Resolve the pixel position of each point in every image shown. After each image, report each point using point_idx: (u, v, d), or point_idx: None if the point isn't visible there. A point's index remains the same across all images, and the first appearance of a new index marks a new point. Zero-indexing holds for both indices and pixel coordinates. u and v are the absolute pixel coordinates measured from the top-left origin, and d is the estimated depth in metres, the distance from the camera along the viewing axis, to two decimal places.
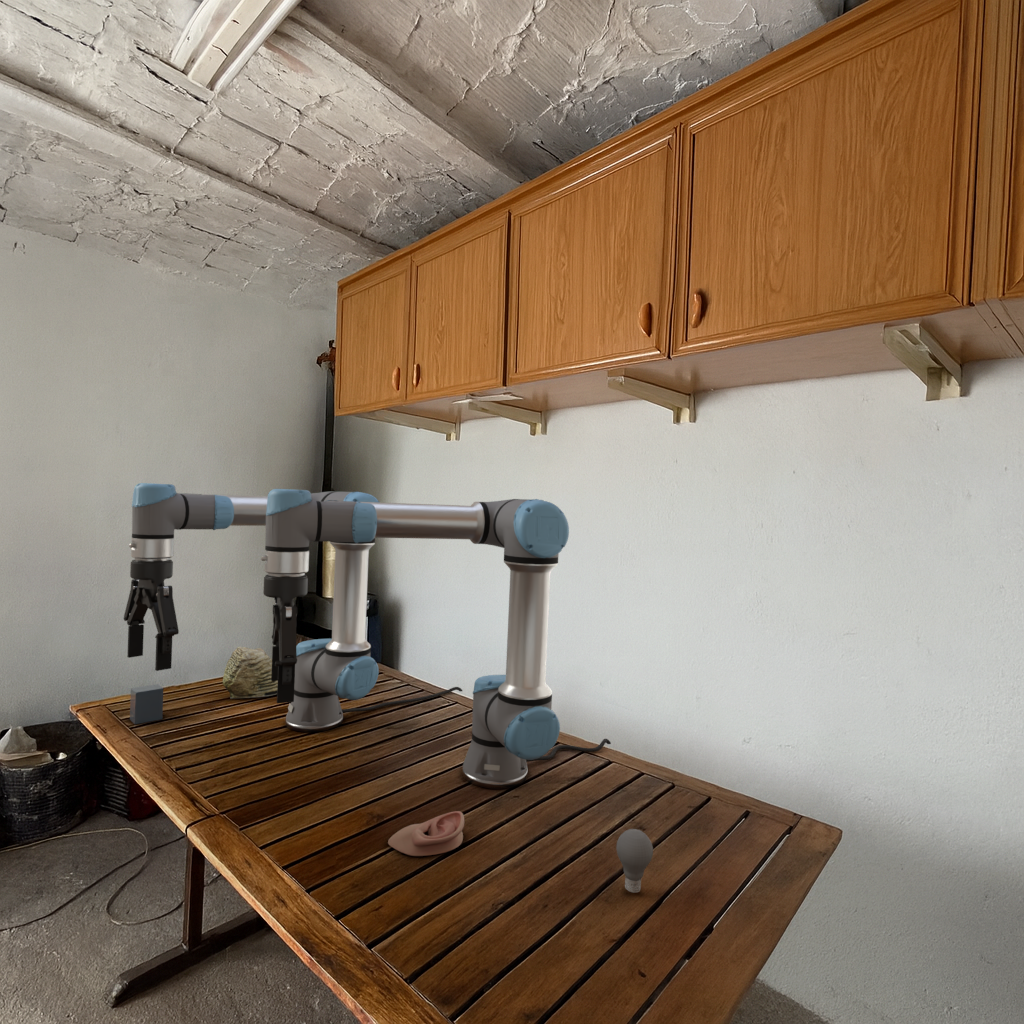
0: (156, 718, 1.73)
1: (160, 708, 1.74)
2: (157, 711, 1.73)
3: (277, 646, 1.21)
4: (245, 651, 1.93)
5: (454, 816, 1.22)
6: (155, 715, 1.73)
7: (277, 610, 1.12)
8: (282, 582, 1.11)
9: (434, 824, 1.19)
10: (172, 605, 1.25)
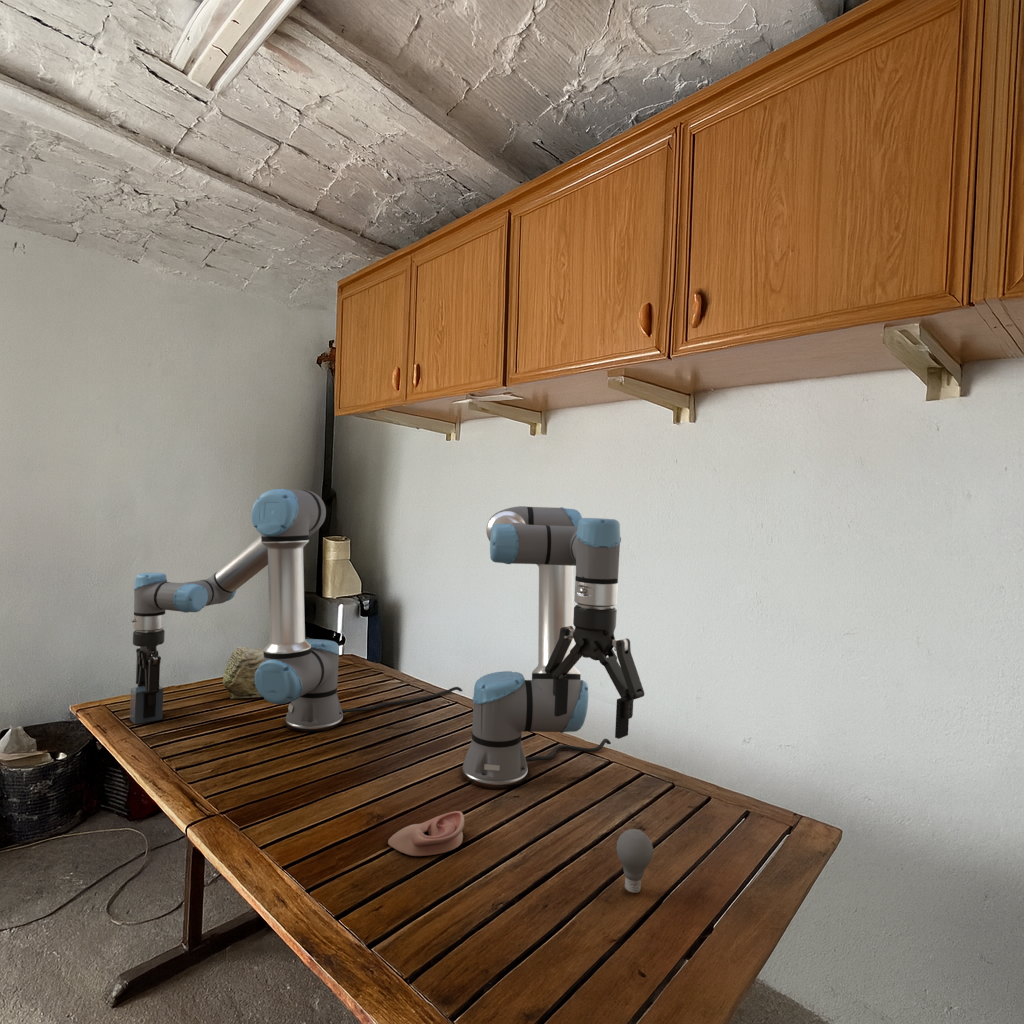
0: (156, 718, 1.73)
1: (160, 708, 1.74)
2: (157, 711, 1.73)
3: (560, 680, 1.16)
4: (245, 651, 1.93)
5: (454, 816, 1.22)
6: (155, 715, 1.73)
7: (597, 644, 1.09)
8: (608, 614, 1.08)
9: (434, 824, 1.19)
10: (158, 671, 1.70)
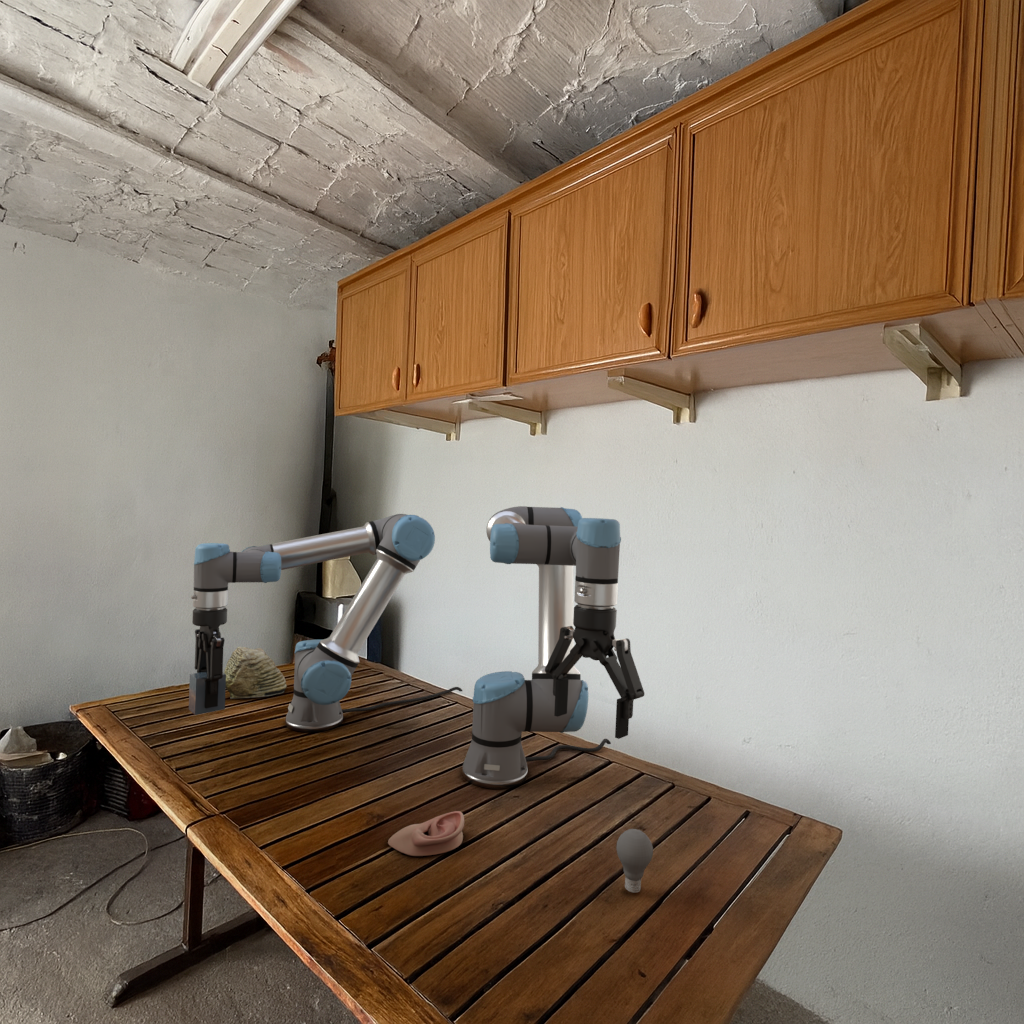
0: (218, 708, 1.52)
1: (222, 697, 1.53)
2: (219, 700, 1.52)
3: (560, 680, 1.16)
4: (245, 651, 1.93)
5: (454, 816, 1.22)
6: None
7: (597, 644, 1.09)
8: (608, 614, 1.08)
9: (434, 824, 1.19)
10: (221, 655, 1.49)
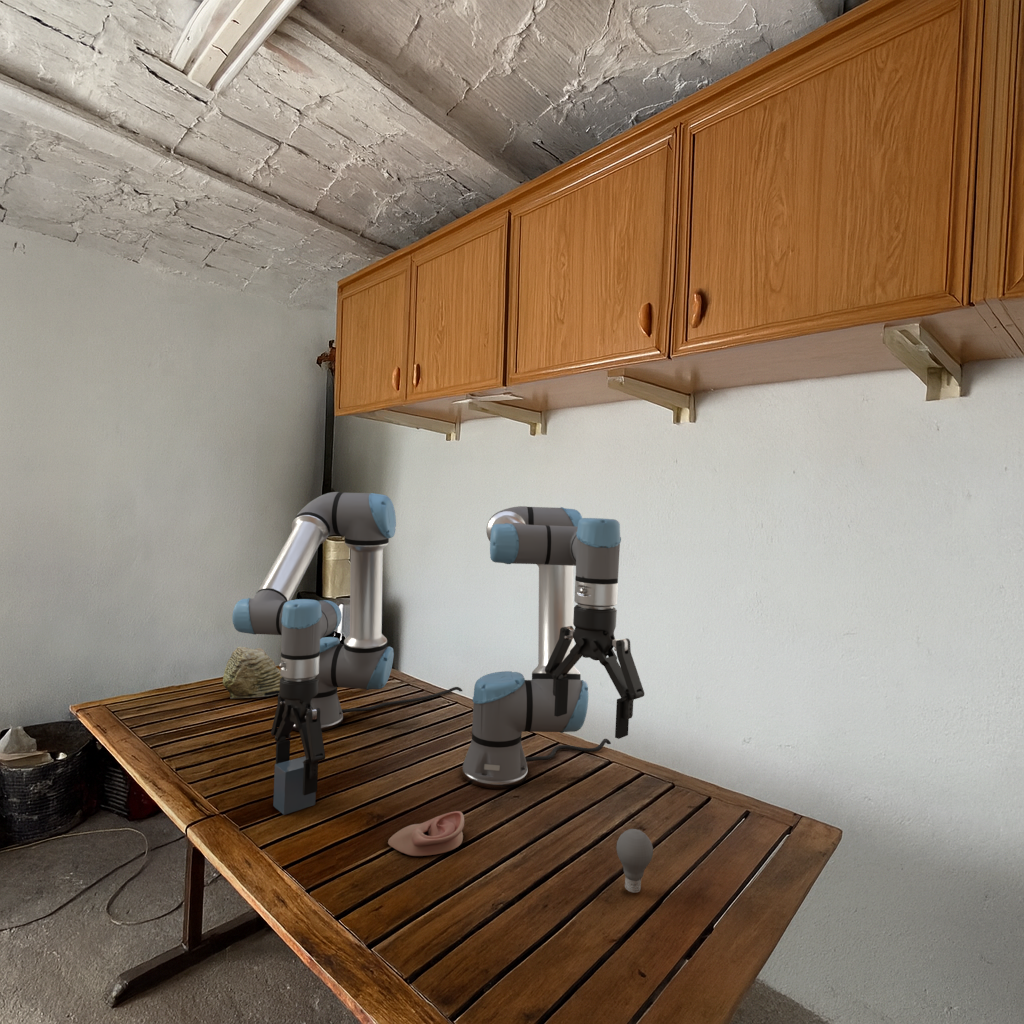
0: (308, 804, 1.29)
1: None
2: (310, 795, 1.29)
3: (560, 680, 1.16)
4: (245, 651, 1.93)
5: (454, 816, 1.22)
6: (307, 800, 1.29)
7: (597, 644, 1.09)
8: (608, 614, 1.08)
9: (434, 824, 1.19)
10: (320, 729, 1.25)
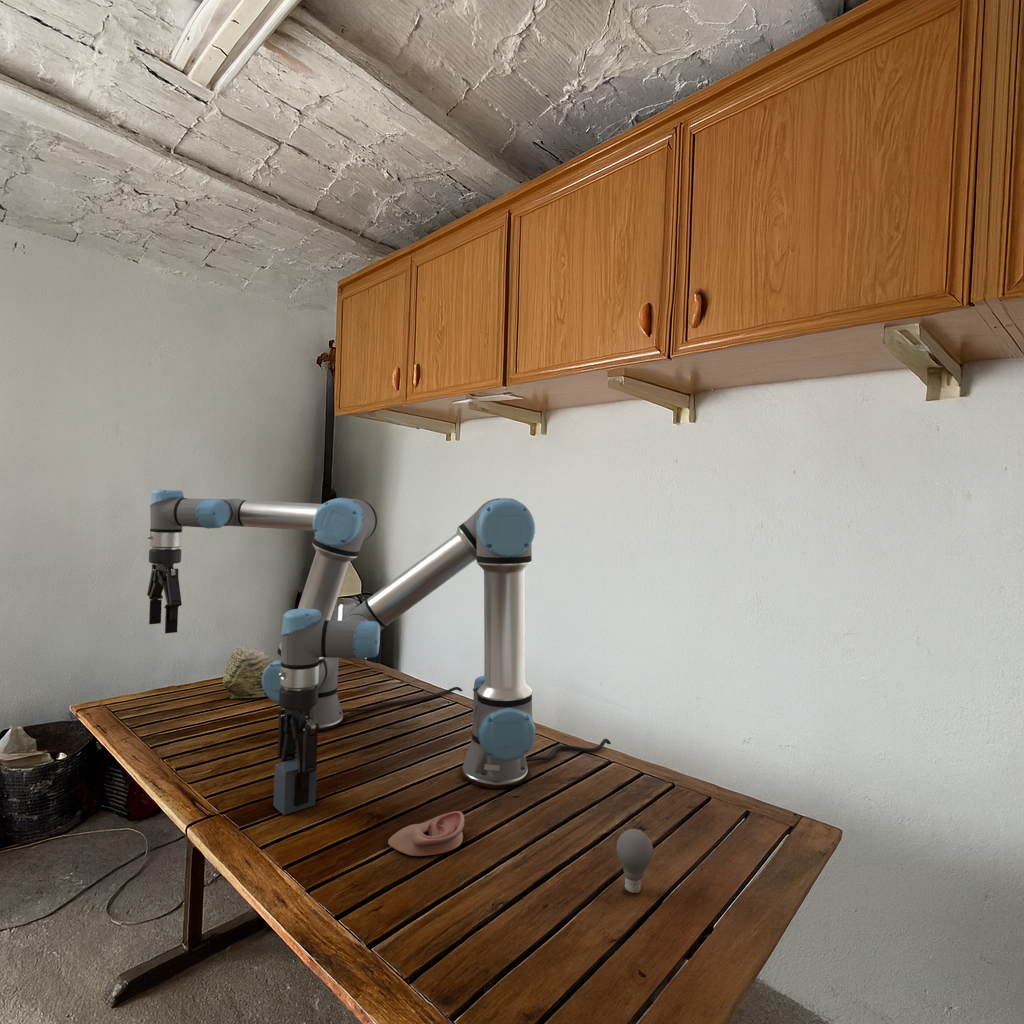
0: (308, 804, 1.29)
1: (313, 790, 1.30)
2: (310, 795, 1.29)
3: None
4: (245, 651, 1.93)
5: (454, 816, 1.22)
6: None
7: (296, 721, 1.27)
8: (302, 695, 1.26)
9: (434, 824, 1.19)
10: (177, 583, 1.62)
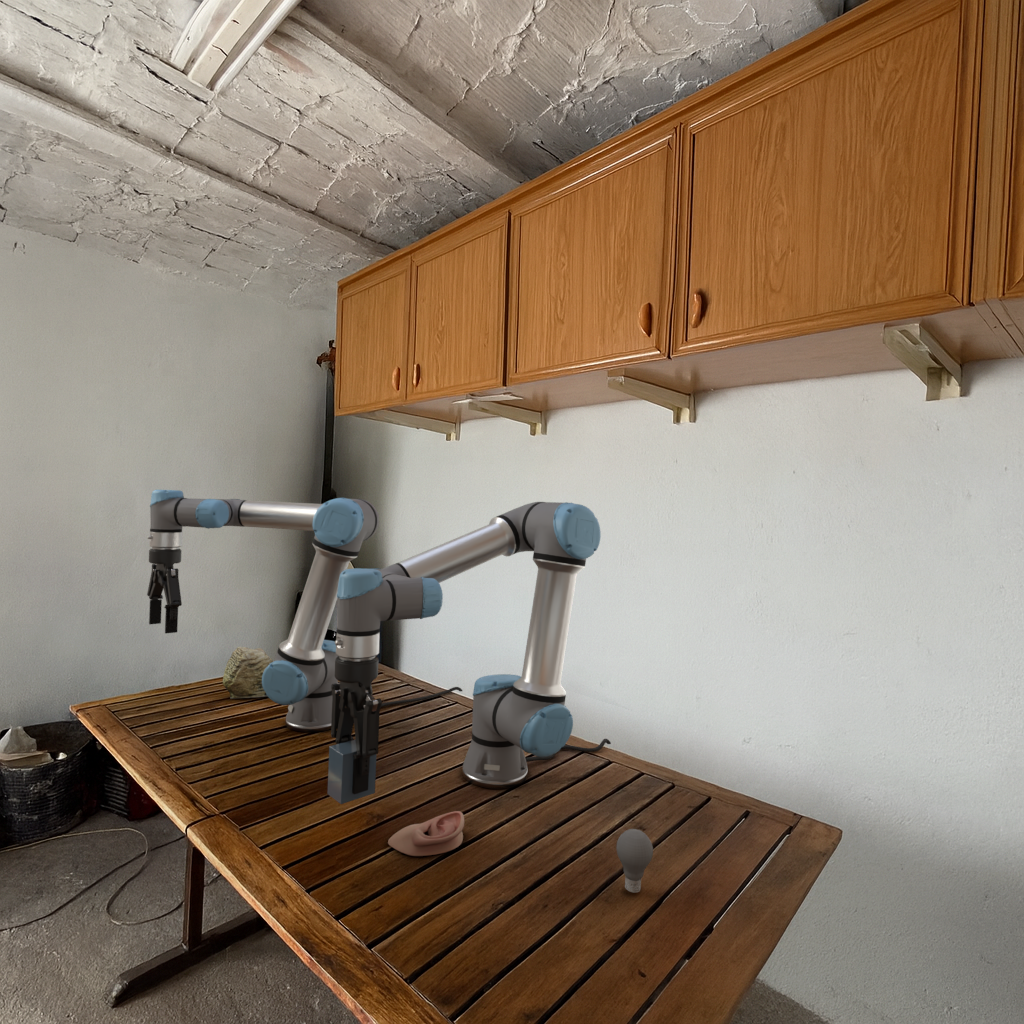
0: (367, 792, 1.13)
1: (372, 777, 1.13)
2: (369, 782, 1.13)
3: None
4: (245, 651, 1.93)
5: (454, 816, 1.22)
6: None
7: (354, 697, 1.10)
8: (362, 666, 1.09)
9: (434, 824, 1.19)
10: (177, 583, 1.62)
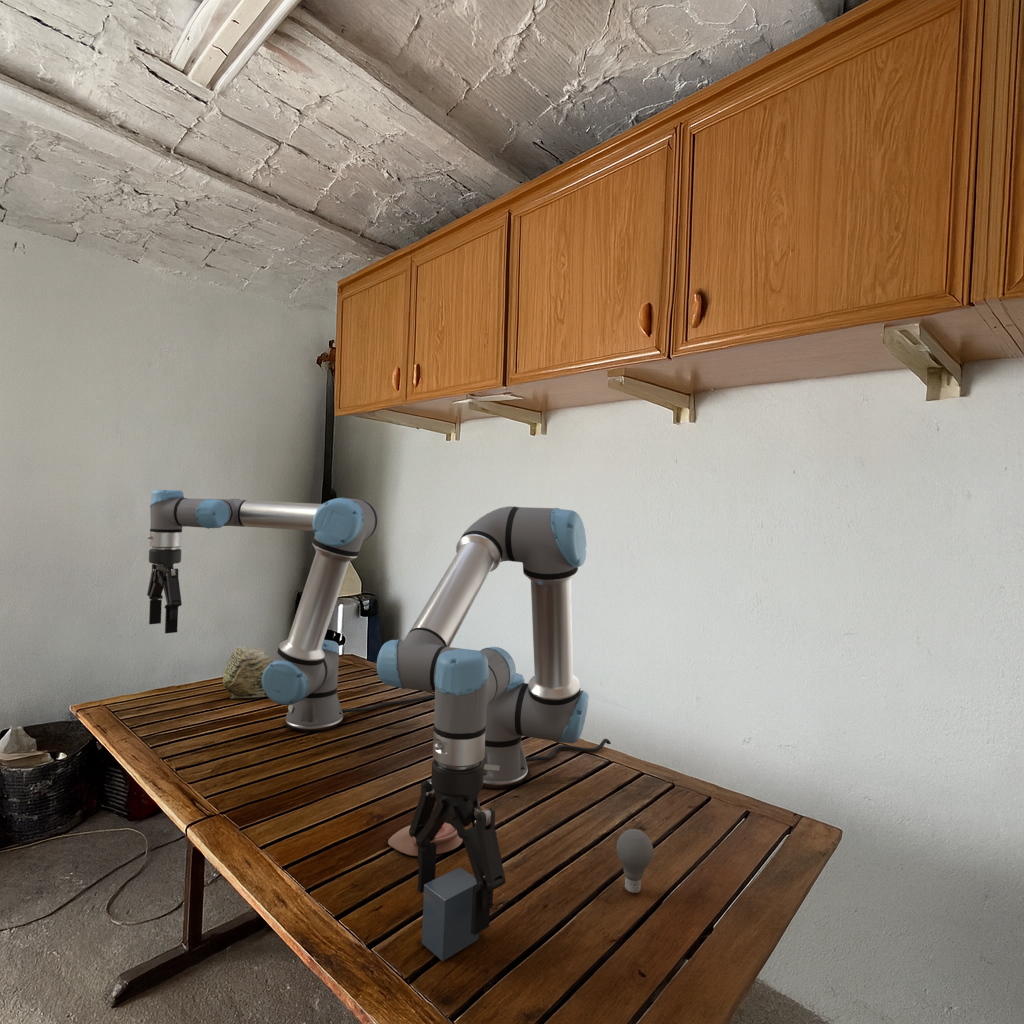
0: (471, 940, 0.92)
1: None
2: None
3: (425, 847, 0.96)
4: (245, 651, 1.93)
5: None
6: (470, 935, 0.91)
7: (457, 811, 0.89)
8: (469, 776, 0.88)
9: None
10: (177, 583, 1.62)
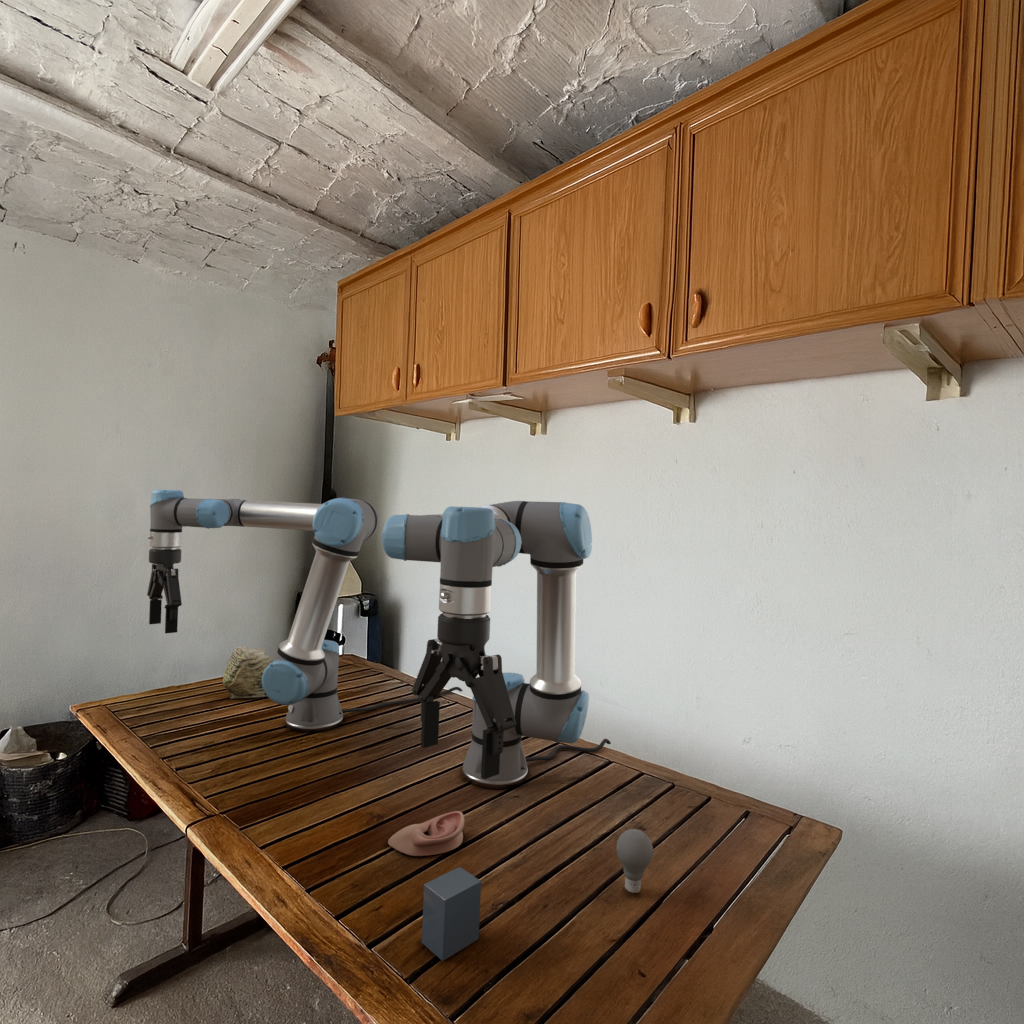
0: (471, 940, 0.92)
1: (476, 920, 0.92)
2: (473, 927, 0.92)
3: (428, 703, 0.96)
4: (245, 651, 1.93)
5: (454, 816, 1.22)
6: (470, 935, 0.91)
7: (464, 661, 0.89)
8: (475, 625, 0.88)
9: (434, 824, 1.19)
10: (177, 583, 1.62)
